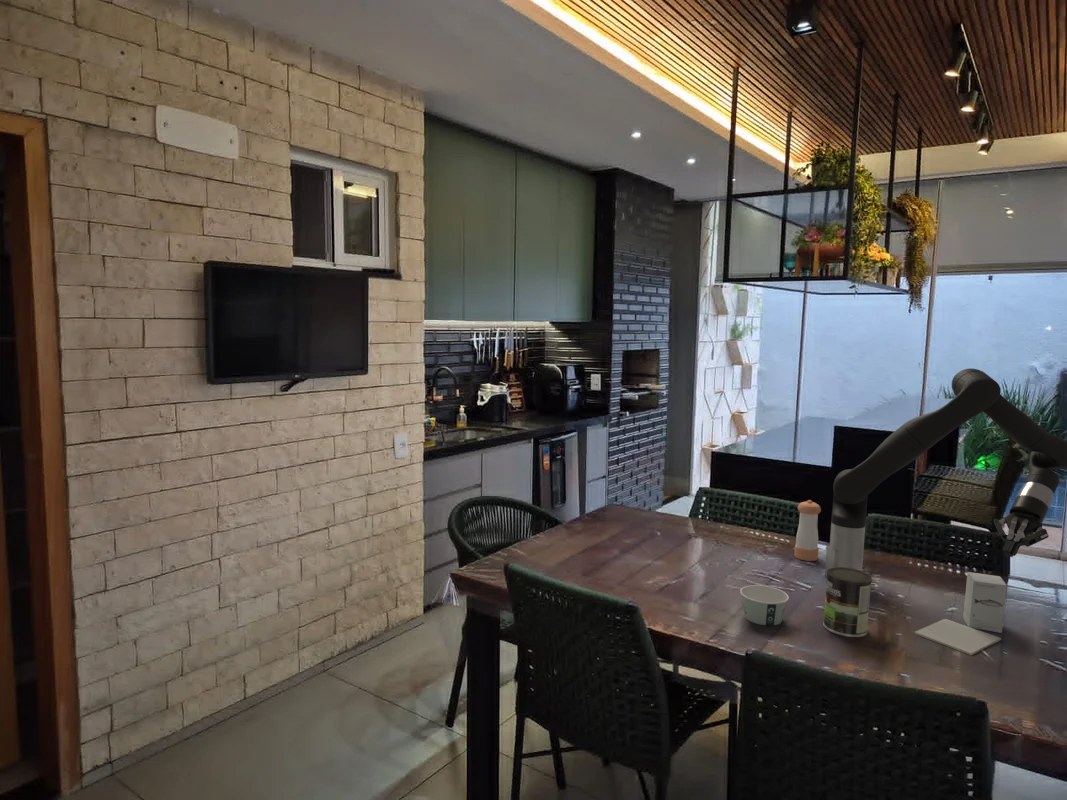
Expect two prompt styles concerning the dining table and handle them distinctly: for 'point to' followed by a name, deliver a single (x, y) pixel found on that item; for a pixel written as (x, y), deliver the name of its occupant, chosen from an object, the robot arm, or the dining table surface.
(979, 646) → the mat
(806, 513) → the pepper shaker
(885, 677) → the dining table surface
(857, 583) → the coffee can
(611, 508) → the dining table surface
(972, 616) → the supplement box
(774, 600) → the food container
